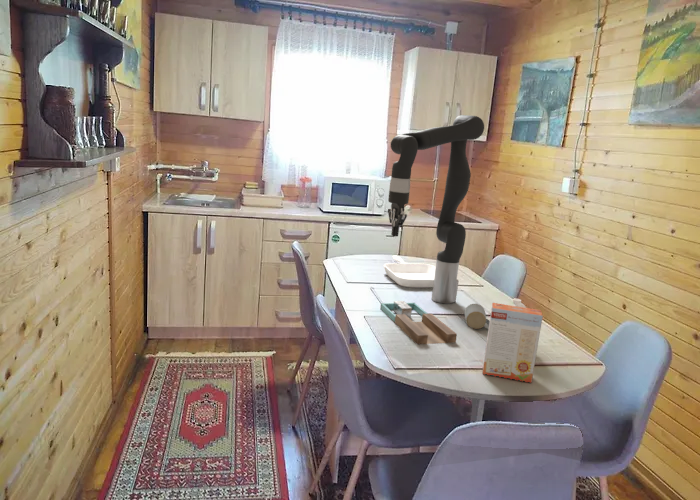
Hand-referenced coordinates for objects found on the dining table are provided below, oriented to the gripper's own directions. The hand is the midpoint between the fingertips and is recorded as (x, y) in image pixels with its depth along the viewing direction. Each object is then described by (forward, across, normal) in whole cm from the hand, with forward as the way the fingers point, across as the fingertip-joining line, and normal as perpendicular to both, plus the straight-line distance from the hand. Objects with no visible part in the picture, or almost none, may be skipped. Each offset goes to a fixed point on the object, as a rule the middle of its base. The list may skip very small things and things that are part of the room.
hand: (394, 235), depth 201 cm
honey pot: (+29, -44, -27) cm, 59 cm away
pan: (+29, +44, -30) cm, 60 cm away
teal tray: (+28, -11, -3) cm, 31 cm away
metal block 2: (+28, -12, -2) cm, 30 cm away
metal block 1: (+28, -8, -2) cm, 29 cm away
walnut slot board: (+28, -28, -2) cm, 40 cm away
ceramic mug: (+29, -22, -27) cm, 46 cm away
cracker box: (+29, -59, -14) cm, 67 cm away
